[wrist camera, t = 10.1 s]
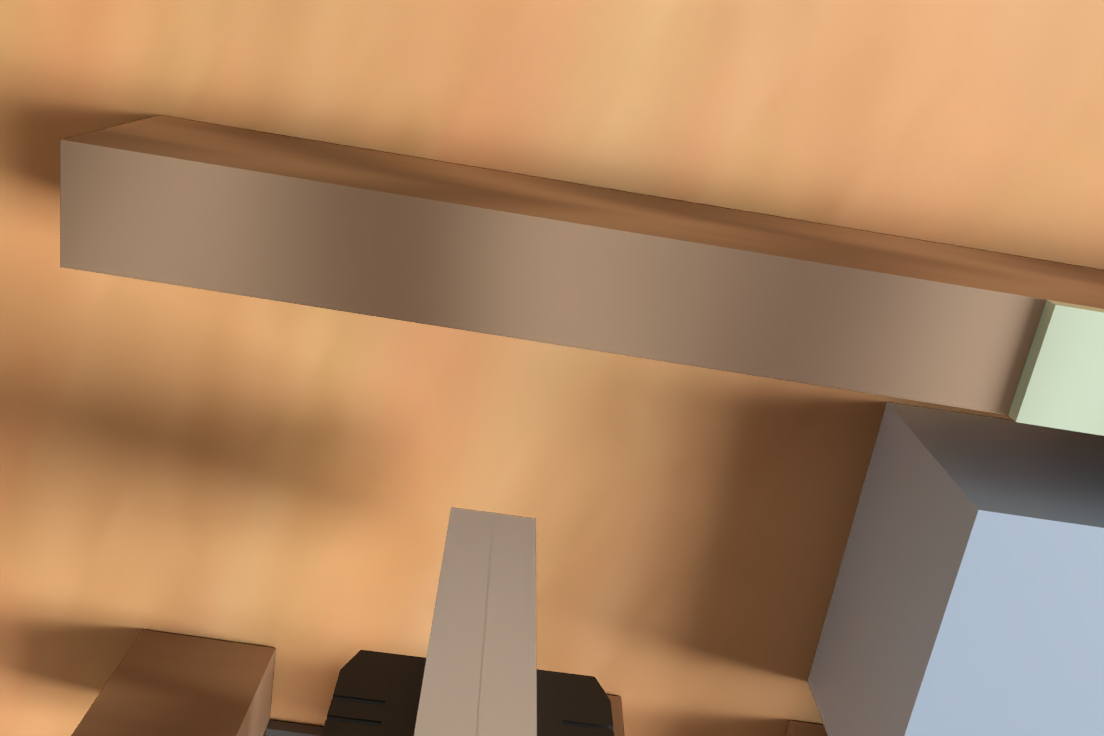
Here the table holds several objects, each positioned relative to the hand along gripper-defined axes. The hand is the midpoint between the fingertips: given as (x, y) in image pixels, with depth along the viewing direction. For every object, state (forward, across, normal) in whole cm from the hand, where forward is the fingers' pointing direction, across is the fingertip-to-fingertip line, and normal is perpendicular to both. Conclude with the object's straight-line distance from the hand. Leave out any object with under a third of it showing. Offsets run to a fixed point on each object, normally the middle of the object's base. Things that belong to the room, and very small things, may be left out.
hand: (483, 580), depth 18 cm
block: (+4, +11, 0) cm, 12 cm away
